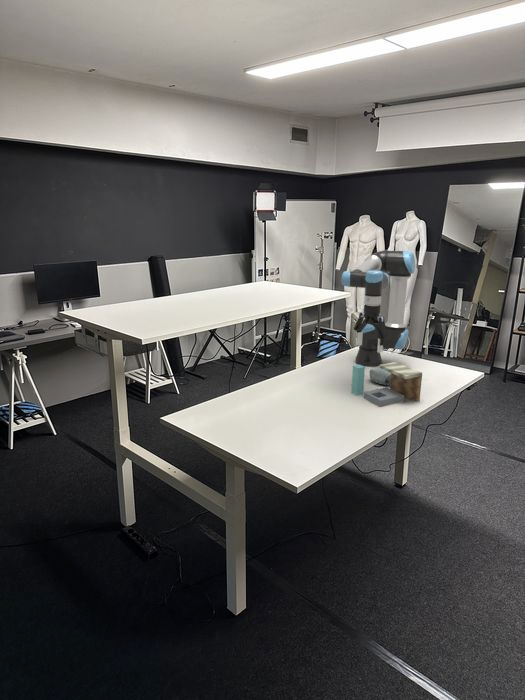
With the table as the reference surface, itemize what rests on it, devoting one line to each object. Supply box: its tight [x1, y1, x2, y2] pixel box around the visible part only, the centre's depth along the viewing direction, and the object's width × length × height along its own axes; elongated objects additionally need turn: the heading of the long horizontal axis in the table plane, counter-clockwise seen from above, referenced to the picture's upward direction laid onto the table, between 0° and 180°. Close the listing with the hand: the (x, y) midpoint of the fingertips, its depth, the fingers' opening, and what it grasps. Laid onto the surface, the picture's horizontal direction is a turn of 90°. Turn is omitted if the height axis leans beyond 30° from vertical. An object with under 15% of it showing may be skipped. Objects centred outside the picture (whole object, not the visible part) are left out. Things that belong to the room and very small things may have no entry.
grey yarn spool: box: [368, 366, 391, 386], centre depth 243 cm, size 14×10×10 cm
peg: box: [351, 364, 366, 396], centre depth 228 cm, size 4×4×14 cm
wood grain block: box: [378, 361, 423, 402], centre depth 225 cm, size 18×10×14 cm, turn 27°
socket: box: [363, 386, 405, 408], centre depth 222 cm, size 12×14×3 cm
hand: (369, 348), depth 225 cm, fingers open, 13 cm apart
